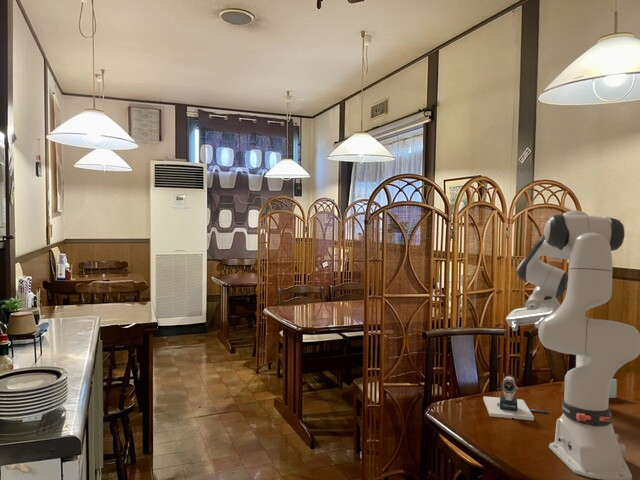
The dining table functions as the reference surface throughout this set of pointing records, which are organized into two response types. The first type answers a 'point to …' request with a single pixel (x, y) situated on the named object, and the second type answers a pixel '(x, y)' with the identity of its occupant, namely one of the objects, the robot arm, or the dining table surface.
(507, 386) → the watch
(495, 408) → the charging pad
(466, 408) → the dining table surface
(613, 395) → the right angle wall
